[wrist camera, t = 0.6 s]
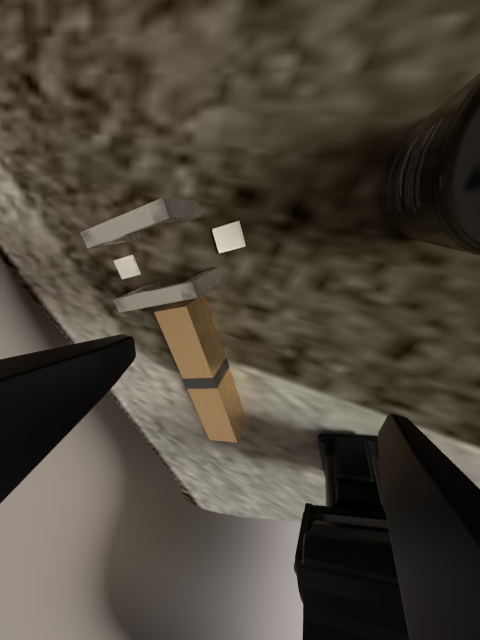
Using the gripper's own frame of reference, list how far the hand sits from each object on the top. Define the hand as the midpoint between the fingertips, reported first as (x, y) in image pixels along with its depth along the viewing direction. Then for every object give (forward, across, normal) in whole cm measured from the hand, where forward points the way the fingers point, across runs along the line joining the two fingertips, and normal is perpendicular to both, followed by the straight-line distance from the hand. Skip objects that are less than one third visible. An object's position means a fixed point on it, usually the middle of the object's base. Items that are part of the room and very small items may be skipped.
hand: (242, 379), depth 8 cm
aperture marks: (+13, +11, -1) cm, 17 cm away
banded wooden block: (+13, +6, +10) cm, 18 cm away
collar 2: (+13, +10, +2) cm, 16 cm away
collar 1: (+13, +12, -3) cm, 18 cm away
